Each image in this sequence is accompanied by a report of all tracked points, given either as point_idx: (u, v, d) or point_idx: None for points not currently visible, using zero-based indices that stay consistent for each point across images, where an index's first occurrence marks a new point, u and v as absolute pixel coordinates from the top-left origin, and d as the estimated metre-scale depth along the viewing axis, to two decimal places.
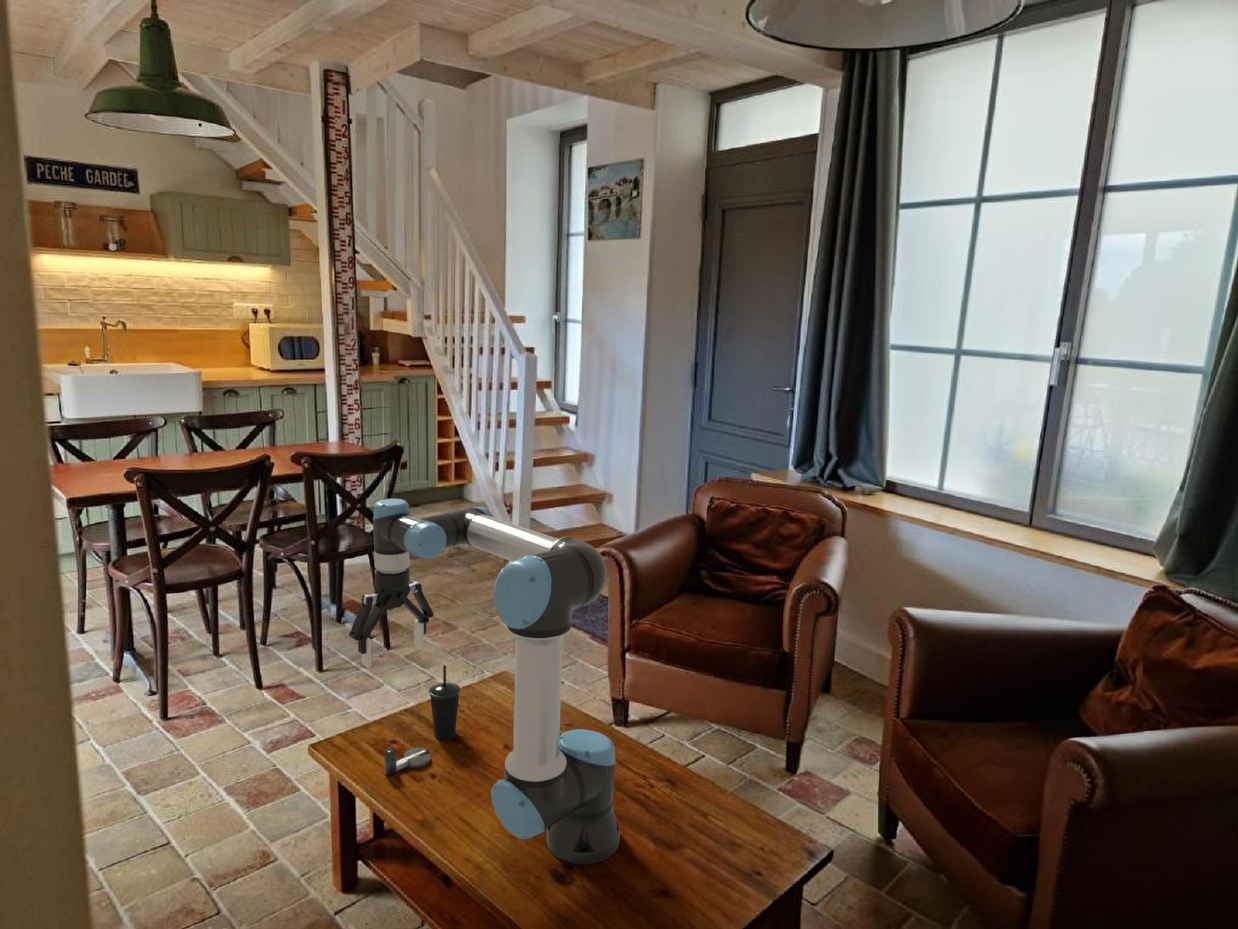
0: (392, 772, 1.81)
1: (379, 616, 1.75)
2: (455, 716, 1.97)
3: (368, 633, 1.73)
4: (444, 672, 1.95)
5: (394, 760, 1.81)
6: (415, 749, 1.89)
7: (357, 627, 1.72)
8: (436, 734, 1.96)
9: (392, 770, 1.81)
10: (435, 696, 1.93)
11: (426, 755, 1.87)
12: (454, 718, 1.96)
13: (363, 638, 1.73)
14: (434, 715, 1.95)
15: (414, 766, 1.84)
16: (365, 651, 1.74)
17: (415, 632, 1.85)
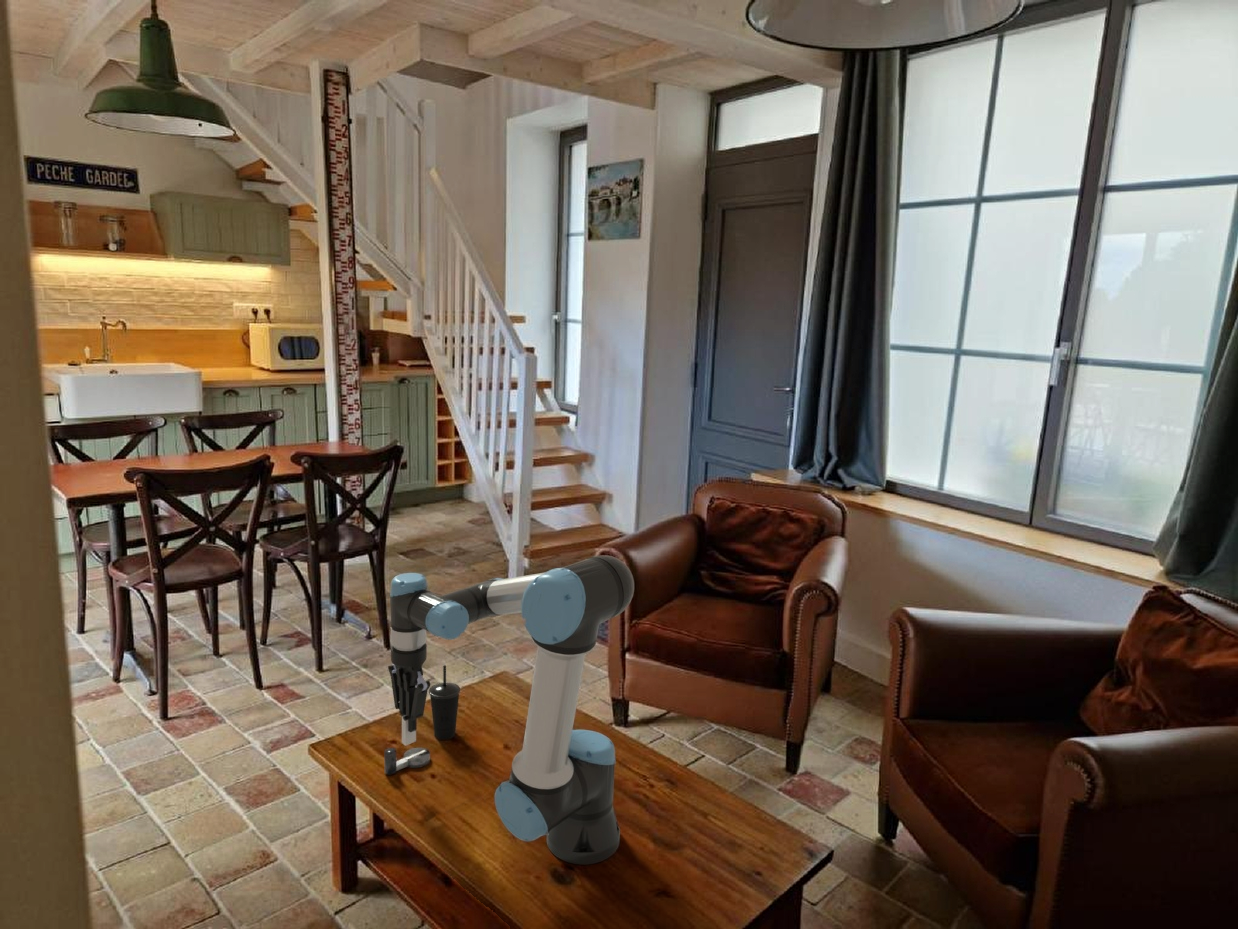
0: (392, 772, 1.81)
1: (401, 690, 1.74)
2: (455, 716, 1.97)
3: (401, 707, 1.75)
4: (444, 672, 1.95)
5: (394, 760, 1.81)
6: (415, 749, 1.89)
7: None
8: (436, 734, 1.96)
9: (392, 770, 1.81)
10: (435, 696, 1.93)
11: (426, 755, 1.87)
12: (454, 718, 1.96)
13: (399, 712, 1.75)
14: (434, 715, 1.95)
15: (414, 766, 1.84)
16: None
17: None
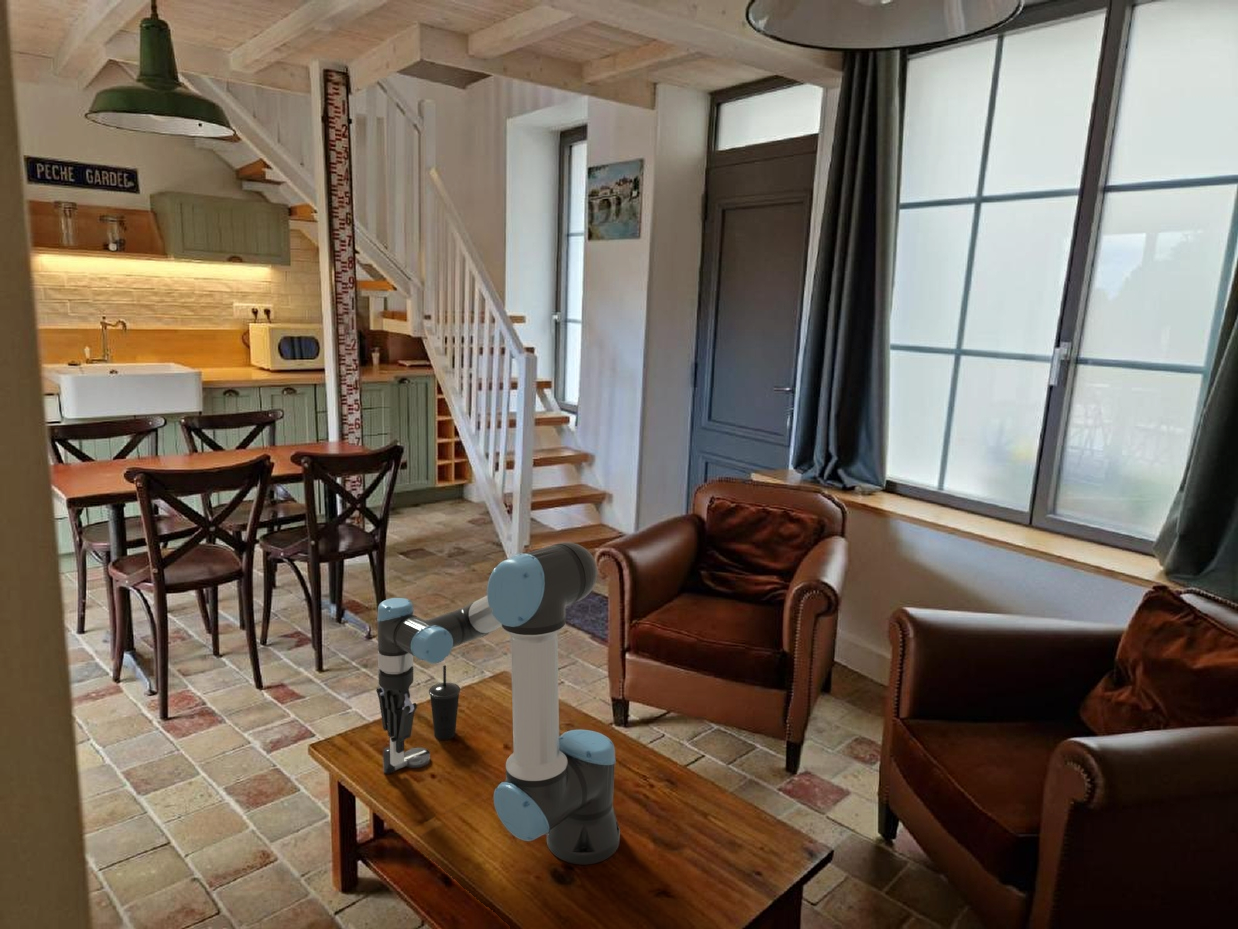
0: (390, 771, 1.81)
1: (389, 712, 1.78)
2: (455, 716, 1.97)
3: (389, 729, 1.79)
4: (444, 672, 1.95)
5: None
6: (416, 749, 1.89)
7: None
8: (436, 734, 1.96)
9: (390, 769, 1.81)
10: (435, 696, 1.93)
11: (426, 755, 1.86)
12: (454, 718, 1.96)
13: (388, 734, 1.80)
14: (434, 715, 1.95)
15: (413, 766, 1.84)
16: None
17: None
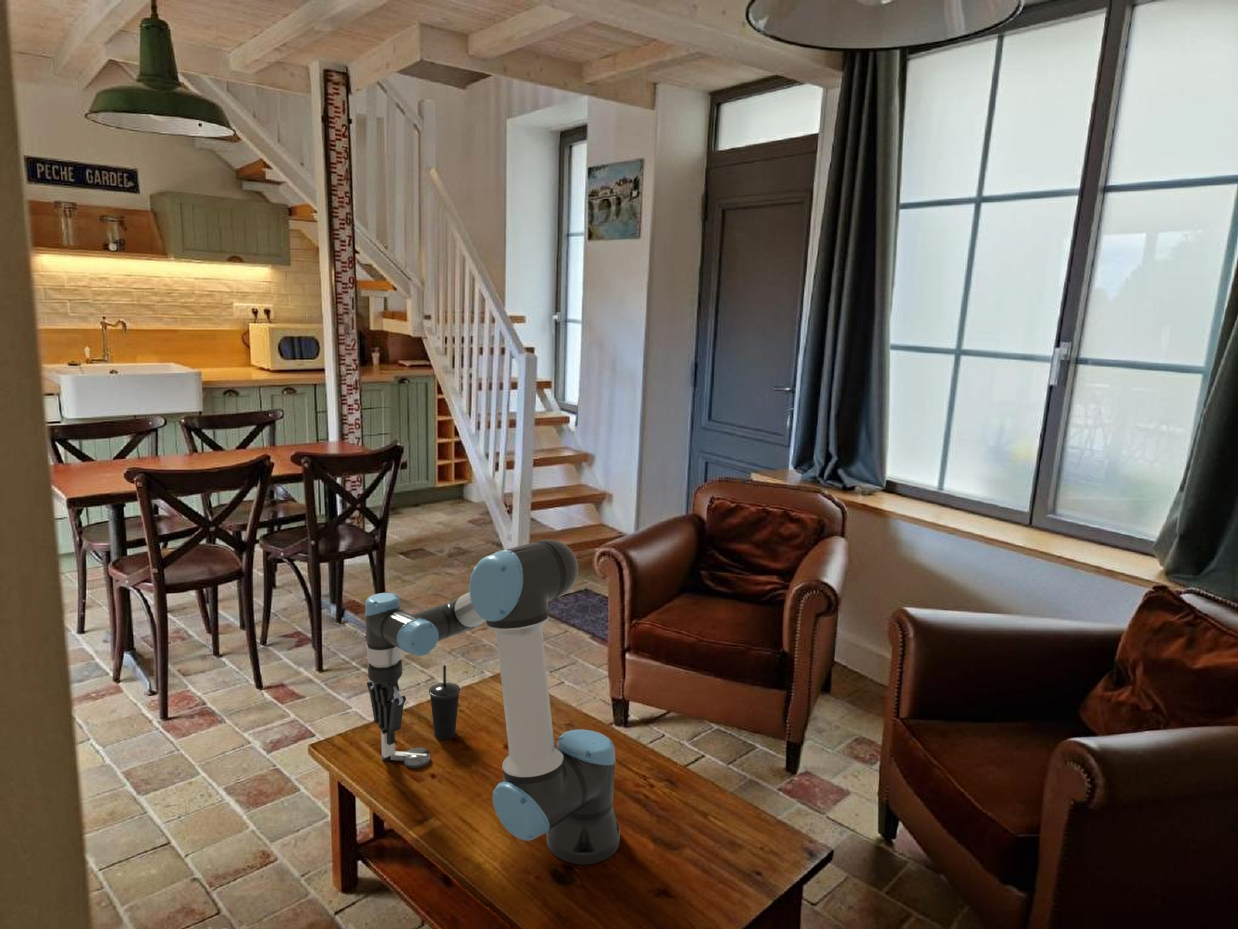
0: (384, 758, 1.86)
1: (379, 705, 1.82)
2: (455, 716, 1.97)
3: (380, 721, 1.83)
4: (444, 672, 1.95)
5: None
6: (423, 750, 1.89)
7: None
8: (436, 734, 1.96)
9: None
10: (435, 696, 1.93)
11: (421, 759, 1.85)
12: (454, 718, 1.96)
13: (379, 726, 1.83)
14: (434, 715, 1.95)
15: (405, 763, 1.85)
16: None
17: None
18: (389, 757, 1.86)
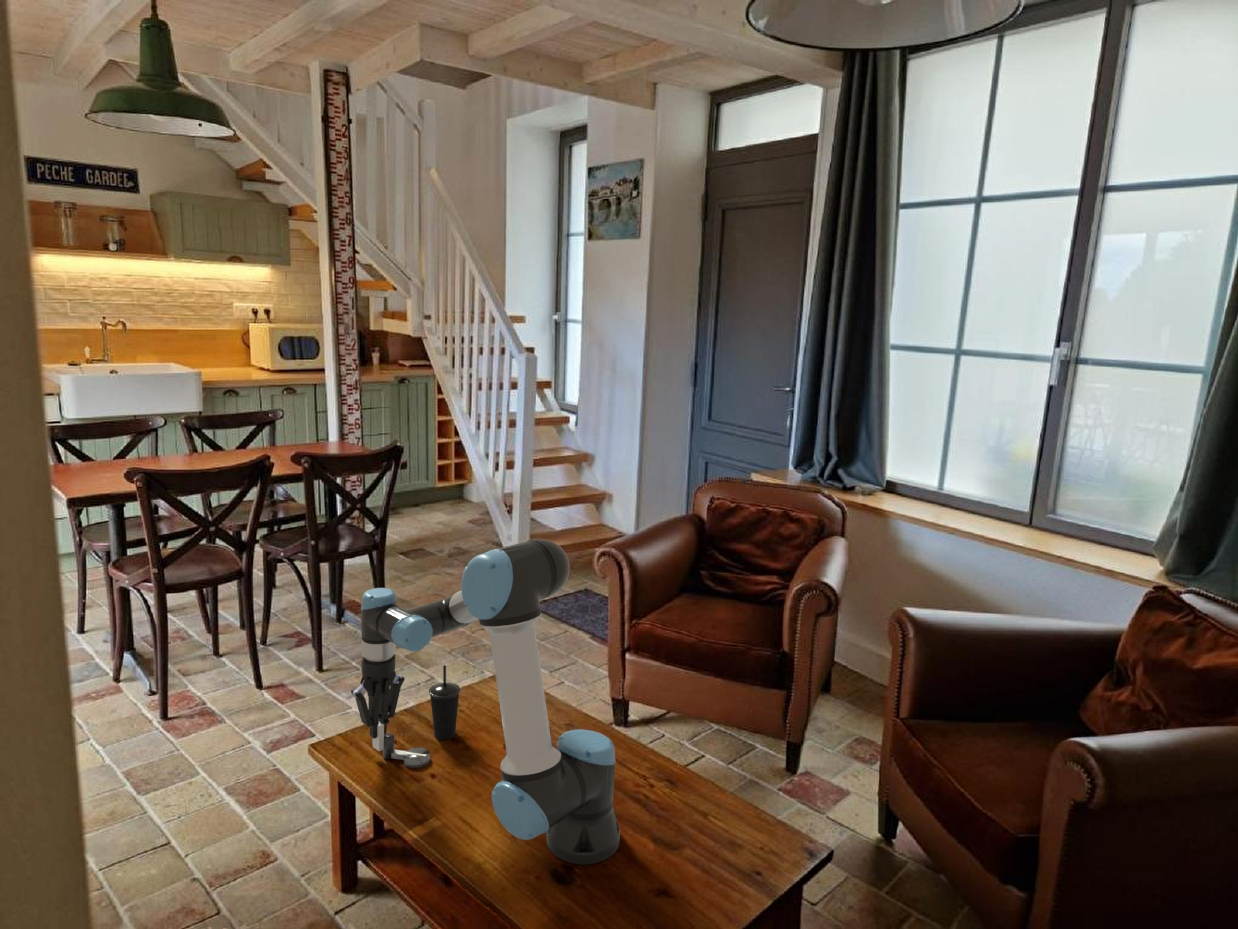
0: (385, 757, 1.87)
1: (377, 702, 1.83)
2: (455, 716, 1.97)
3: (376, 719, 1.84)
4: (444, 672, 1.95)
5: (387, 746, 1.86)
6: (424, 750, 1.88)
7: (364, 717, 1.81)
8: (436, 734, 1.96)
9: (385, 754, 1.87)
10: (435, 696, 1.93)
11: (420, 759, 1.85)
12: (454, 718, 1.96)
13: (375, 725, 1.83)
14: (434, 715, 1.95)
15: (404, 763, 1.85)
16: (376, 735, 1.85)
17: None
18: (390, 755, 1.87)
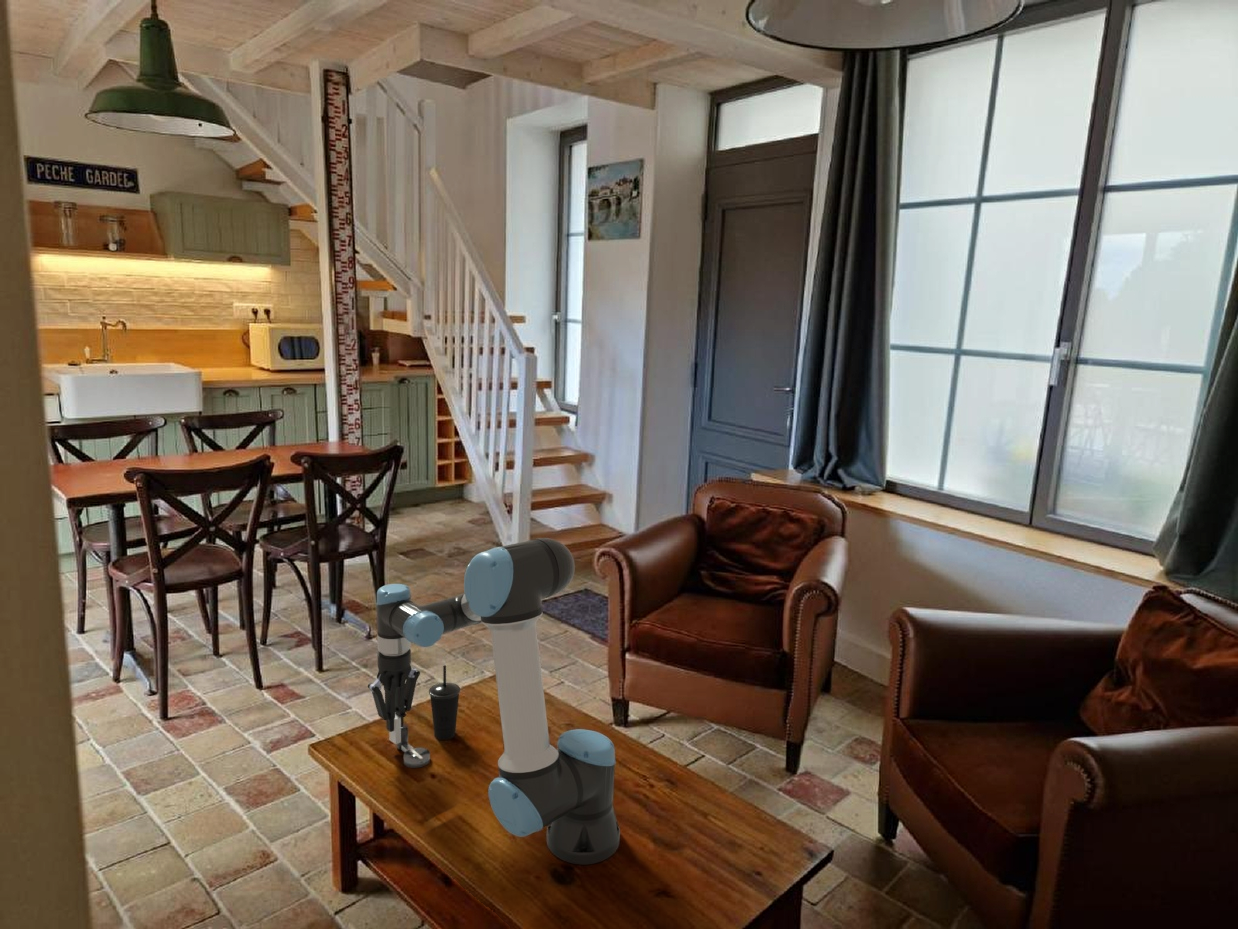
0: (397, 746, 1.91)
1: (393, 696, 1.86)
2: (455, 716, 1.97)
3: (393, 712, 1.87)
4: (444, 672, 1.95)
5: None
6: (426, 753, 1.87)
7: (380, 711, 1.84)
8: (436, 734, 1.96)
9: (397, 744, 1.91)
10: (435, 696, 1.93)
11: (413, 760, 1.84)
12: (454, 718, 1.96)
13: (391, 718, 1.86)
14: (434, 715, 1.95)
15: None
16: (393, 729, 1.88)
17: None
18: (400, 746, 1.90)
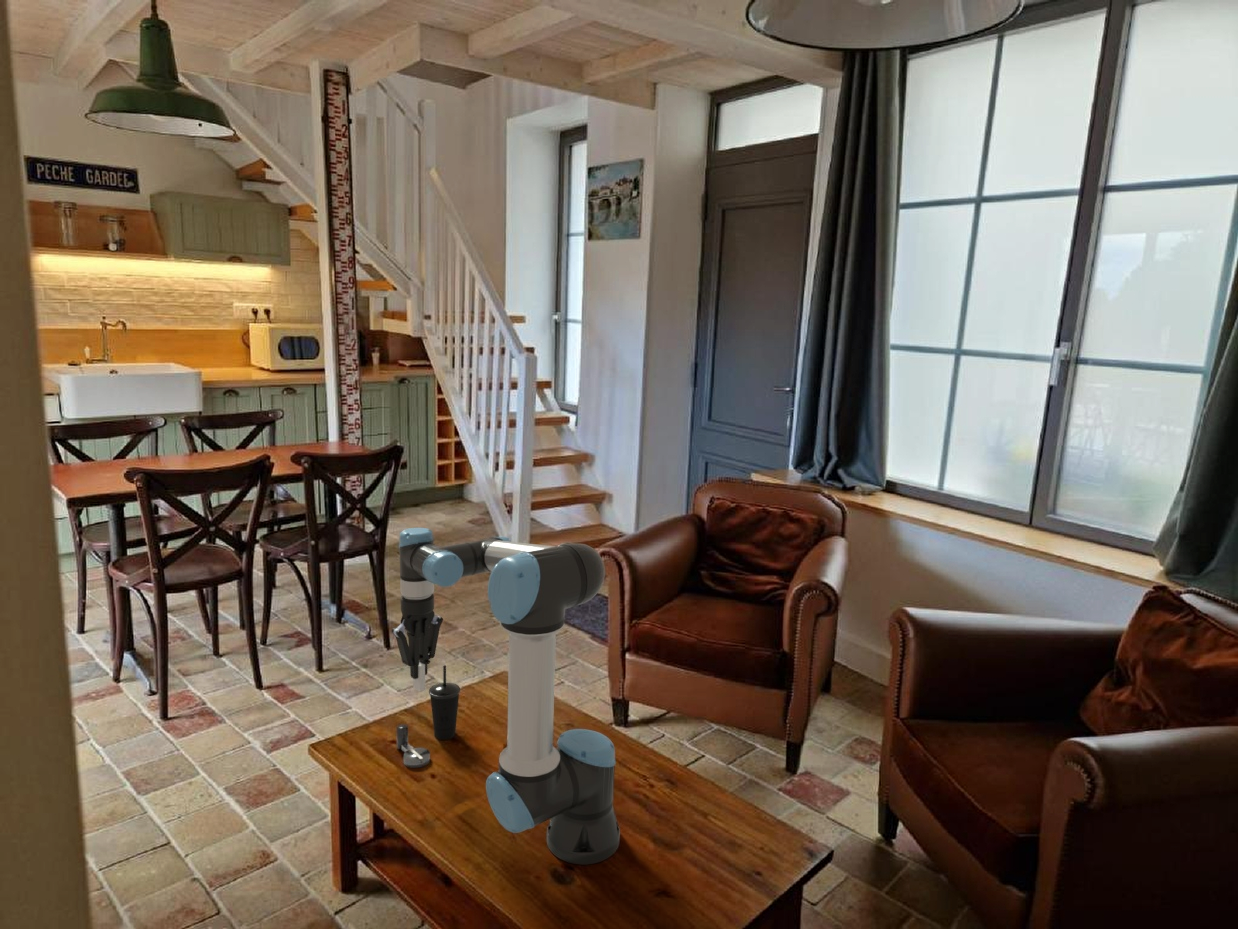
0: (397, 746, 1.91)
1: (417, 641, 1.84)
2: (455, 716, 1.97)
3: (417, 659, 1.84)
4: (444, 672, 1.95)
5: (398, 736, 1.90)
6: (426, 753, 1.87)
7: (405, 657, 1.82)
8: (436, 734, 1.96)
9: (397, 744, 1.91)
10: (435, 696, 1.93)
11: (413, 760, 1.84)
12: (454, 718, 1.96)
13: (416, 665, 1.84)
14: (434, 715, 1.95)
15: None
16: (417, 676, 1.86)
17: None
18: (400, 746, 1.90)
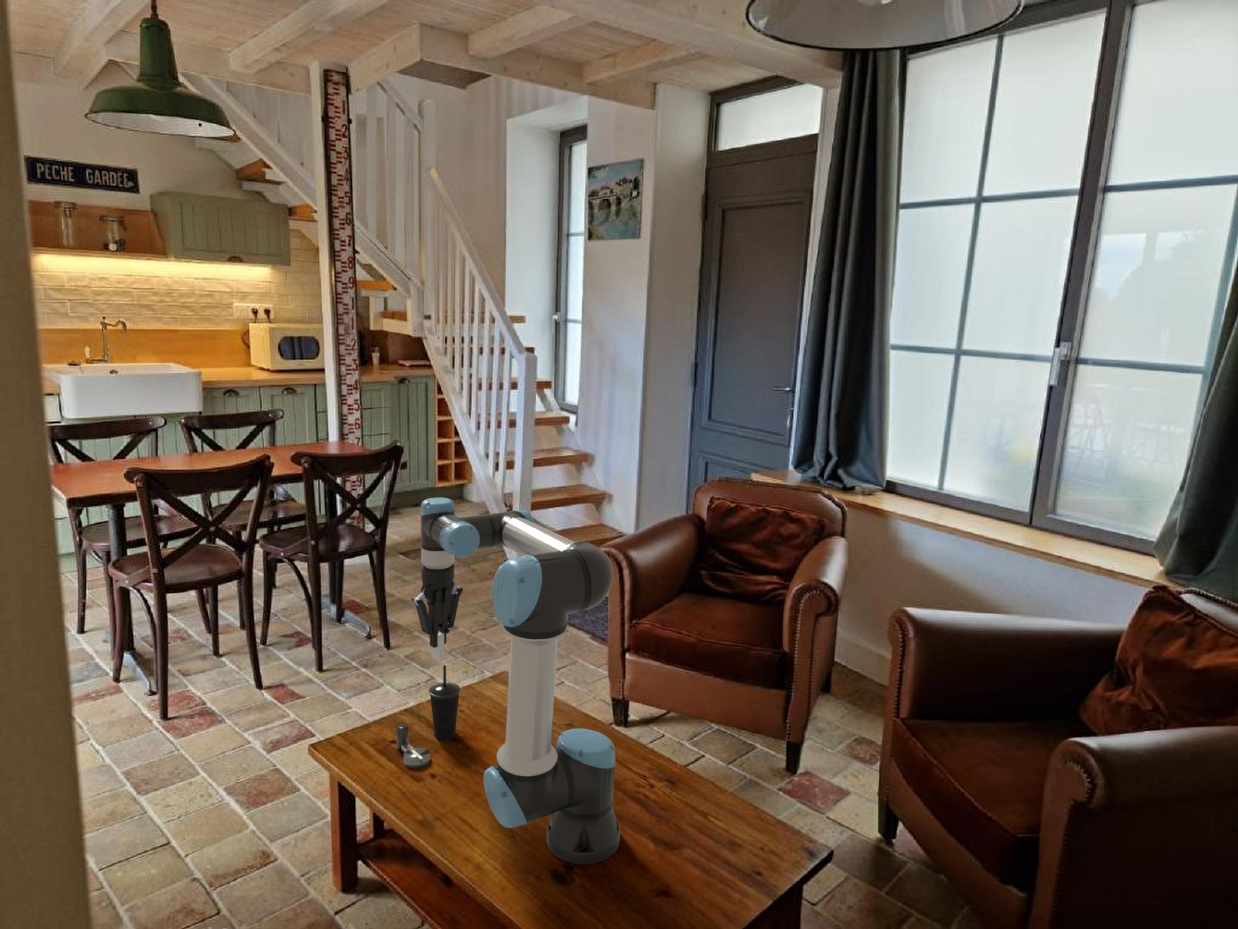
0: (397, 746, 1.91)
1: (436, 611, 1.85)
2: (455, 716, 1.97)
3: (436, 627, 1.86)
4: (444, 672, 1.95)
5: (398, 736, 1.90)
6: (426, 753, 1.87)
7: (424, 625, 1.84)
8: (436, 734, 1.96)
9: (397, 744, 1.91)
10: (435, 696, 1.93)
11: (413, 760, 1.84)
12: (454, 718, 1.96)
13: (435, 634, 1.86)
14: (434, 715, 1.95)
15: None
16: (436, 645, 1.87)
17: None
18: (400, 746, 1.90)
